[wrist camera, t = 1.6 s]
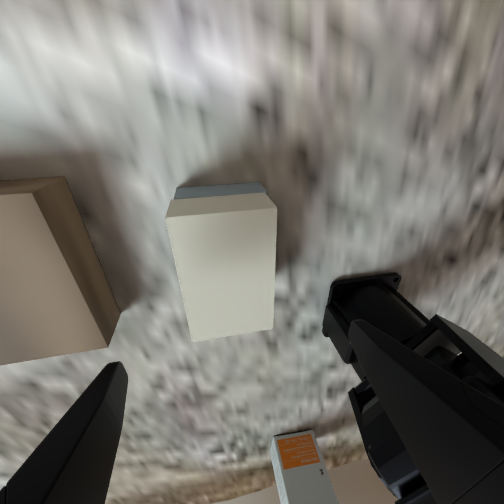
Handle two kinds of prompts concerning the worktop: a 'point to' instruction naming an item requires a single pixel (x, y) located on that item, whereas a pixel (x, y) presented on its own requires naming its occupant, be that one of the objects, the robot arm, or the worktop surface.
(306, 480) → the skincare box
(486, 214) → the worktop surface
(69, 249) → the walnut stand
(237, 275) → the lid plate
